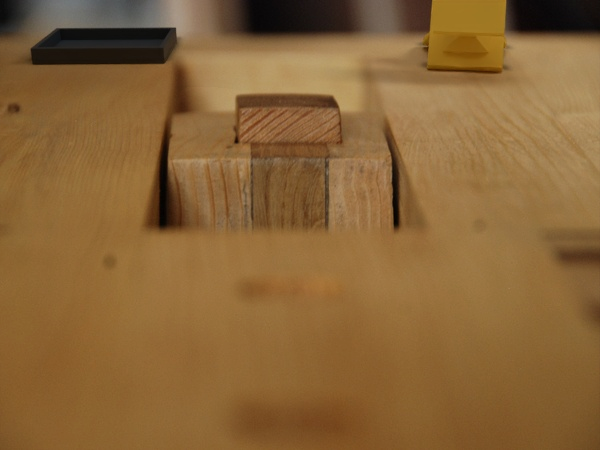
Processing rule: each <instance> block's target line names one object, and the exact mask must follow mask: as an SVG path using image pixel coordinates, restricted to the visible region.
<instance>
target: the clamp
mask: <svg viewBox="0 0 600 450" xmlns="http://www.w3.org/2000/svg"><path fill="white" fill-rule="evenodd" d="M431 1H432V2H431V12H430V25H429V31H428V32H427V33H426V34H425V35H424V36H423V38H422V46H426V47H428V51H427V63H426V69H428V70H459V71H461V70H462V71H479V72H497V73H498V72H499V73H503V67H504V53H505V52H504V51H505V49H506V48H507V46H508V43H507V38H506V36H505V34H506V14H507V0H431Z"/></svg>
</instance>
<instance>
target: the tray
mask: <svg viewBox="0 0 600 450" xmlns="http://www.w3.org/2000/svg"><path fill="white" fill-rule="evenodd" d="M177 42H178V37H177V27H176V26H175V27H171V26H170V27H164V26H163V27H159V26H158V27H56V28H55V29H54V30H52V31H51V32H50V33H48V34H47V35H46V36H44V37H43V38H41V40H39V41H38V42H37V43H35V44H34V45H32V46H31V47H30V55H31V56H30V57H31V64H32V65H102V64H104V65H107V64H108V65H109V64H110V65H111V64H113V65H115V64H121V65H122V64H123V65H124V64H125V65H126V64H131V65H132V64H165V63H166V62H167V60H168V58H169V56H170V54H171V53H172V51H173V49H174V48H175V46H176V44H177Z"/></svg>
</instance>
